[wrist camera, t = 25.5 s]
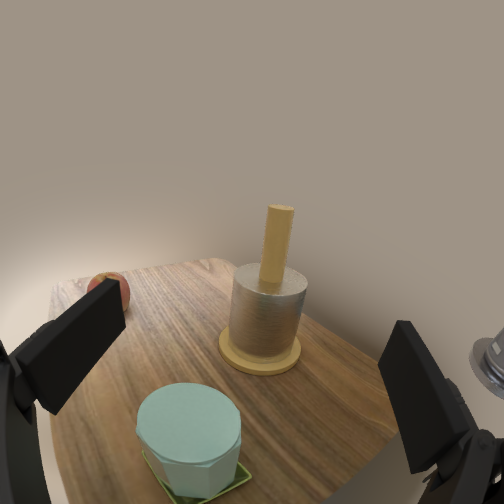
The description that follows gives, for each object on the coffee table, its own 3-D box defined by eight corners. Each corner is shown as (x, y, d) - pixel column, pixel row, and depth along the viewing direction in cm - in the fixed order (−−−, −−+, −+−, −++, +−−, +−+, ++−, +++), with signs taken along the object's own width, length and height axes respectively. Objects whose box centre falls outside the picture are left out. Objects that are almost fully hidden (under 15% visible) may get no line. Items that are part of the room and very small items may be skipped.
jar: (234, 500, 17) (243, 465, 14) (151, 491, 16) (127, 451, 13) (232, 439, 25) (239, 386, 21) (161, 432, 24) (148, 376, 20)
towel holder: (307, 375, 39) (348, 225, 31) (217, 373, 37) (228, 212, 29) (291, 325, 52) (315, 203, 44) (220, 322, 50) (230, 194, 42)
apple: (136, 320, 47) (132, 282, 44) (92, 328, 42) (85, 289, 39) (127, 298, 53) (123, 263, 50) (88, 304, 48) (82, 269, 45)
